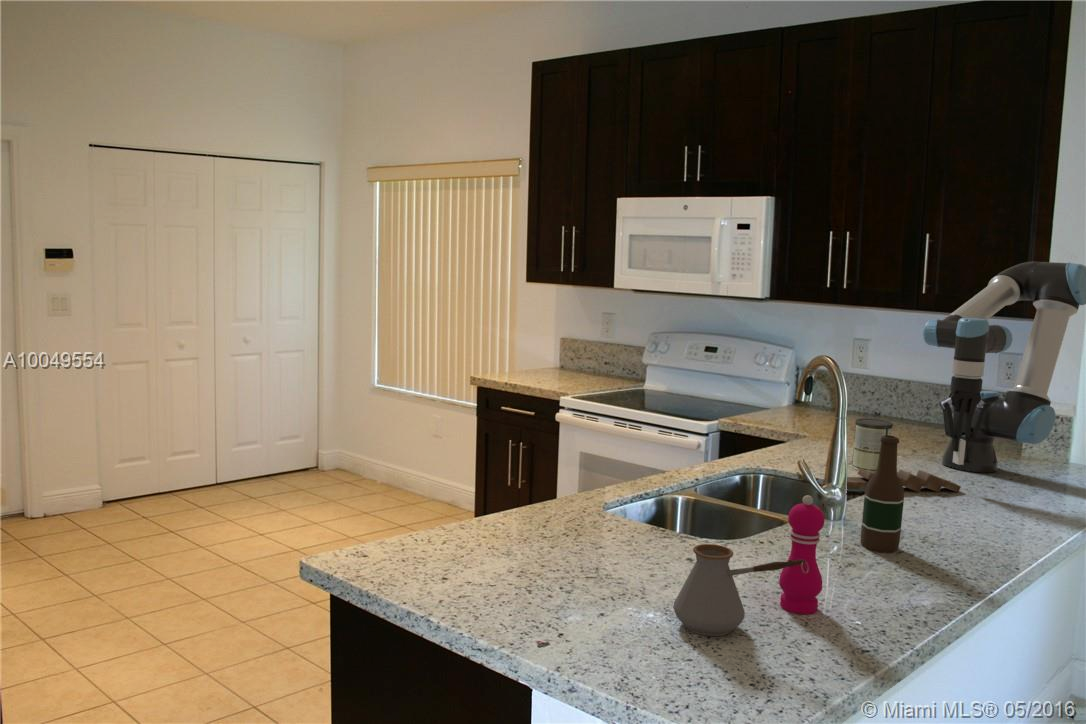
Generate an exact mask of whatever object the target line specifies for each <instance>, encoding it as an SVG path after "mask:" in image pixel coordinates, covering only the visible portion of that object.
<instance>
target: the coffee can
mask: <svg viewBox="0 0 1086 724" xmlns="http://www.w3.org/2000/svg"><path fill="white" fill-rule="evenodd" d="M893 427H894V423H893V422H892V421H889V420H884V419H880V418H879V419H878V418H867V417H865V418H864V417H863V418H857V419H855V427H854V438H853V451H852V462H851V468H852V469H853V470H856V471H859V469H860V468H862V469H864V470H866V471H869V472H871V473H874V474H875V473H876V469H877V466H878V460H879V454H880V448H881V441H880V439H881V437H882V436H885V435H890V436H893V435H892V433H893Z"/></svg>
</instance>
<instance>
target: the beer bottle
mask: <svg viewBox="0 0 1086 724" xmlns="http://www.w3.org/2000/svg"><path fill="white" fill-rule="evenodd" d="M880 441H881V448H880V454H879V460H878V466H877V469H876V473H874V475H873V476H872V477H871V478H870V480H869V482H868V484H867V486H866V490H865V492H864V497H863V509H862V519H861V528H860V531H861V532H860V545H861V546H862V547H864V548H865V550H869V551H873V552H875V553H876V552H877V553H885V554H887V553H888V554H889V553H890V554H891V553H892V554H893V553H894V552H896V551H898V550H899V547H900V541H901V534H902V533H901V531H902V524H903V523H902V522H903V511H904V501H905V490H904V486H903V485H902V483H901V481H900V479H899V477H898V476H897V475H898V469H897V467H898V444H899V443H900V439H899V437H897V436H895V435H892V436H890V435H885V436H882V437H881V439H880Z"/></svg>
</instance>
